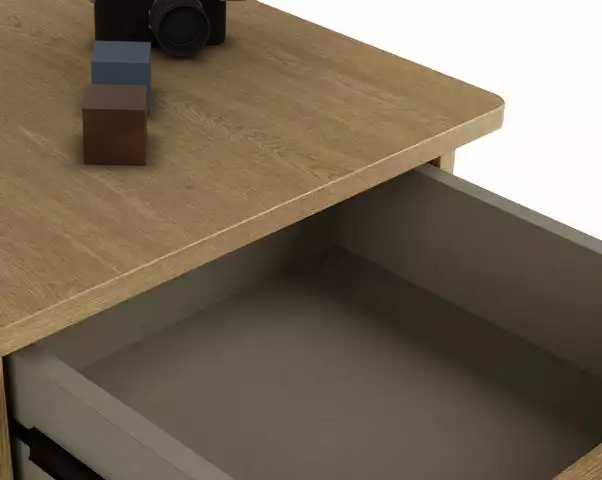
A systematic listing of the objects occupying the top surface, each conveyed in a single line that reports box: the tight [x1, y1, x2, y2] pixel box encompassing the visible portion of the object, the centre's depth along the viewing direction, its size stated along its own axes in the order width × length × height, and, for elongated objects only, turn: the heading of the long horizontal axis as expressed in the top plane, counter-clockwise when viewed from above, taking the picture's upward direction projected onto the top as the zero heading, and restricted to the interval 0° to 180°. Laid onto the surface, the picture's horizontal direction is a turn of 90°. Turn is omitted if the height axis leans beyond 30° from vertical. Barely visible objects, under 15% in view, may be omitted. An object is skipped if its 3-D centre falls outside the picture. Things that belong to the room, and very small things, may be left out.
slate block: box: [90, 40, 152, 117], centre depth 116 cm, size 5×5×5 cm
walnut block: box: [81, 83, 148, 166], centre depth 107 cm, size 5×5×5 cm
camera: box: [87, 0, 227, 58], centre depth 127 cm, size 14×7×8 cm, turn 106°
